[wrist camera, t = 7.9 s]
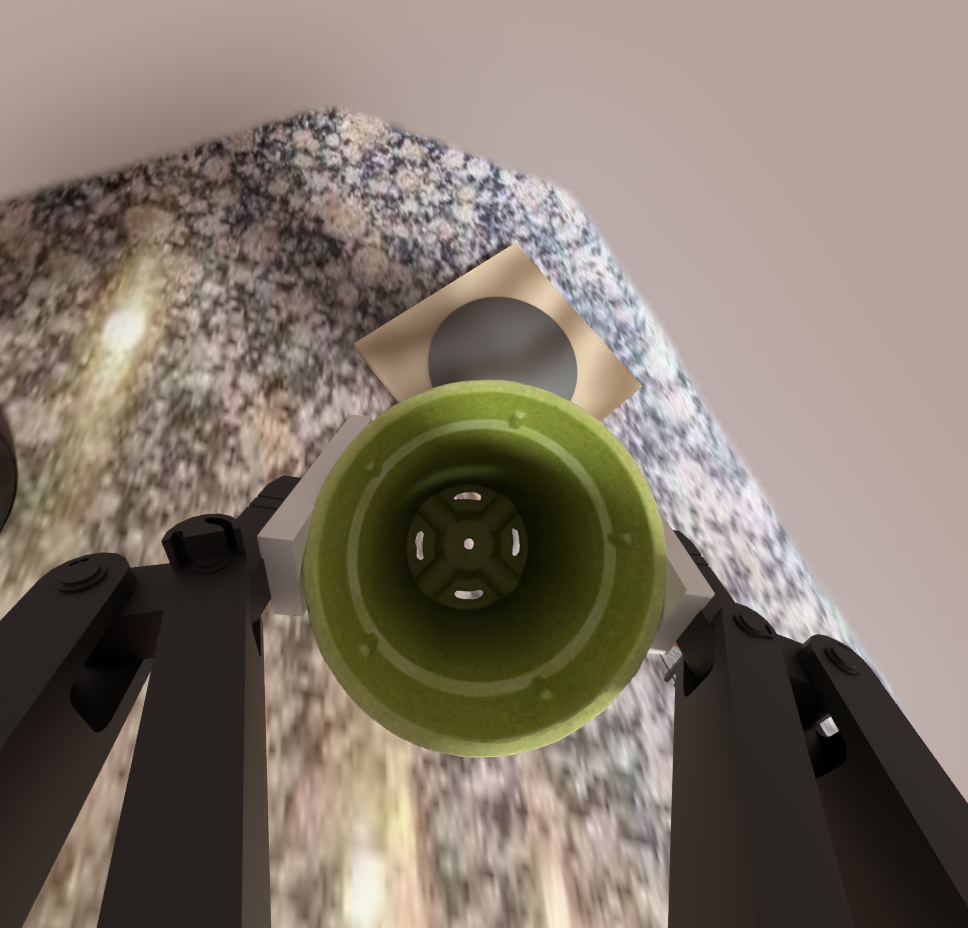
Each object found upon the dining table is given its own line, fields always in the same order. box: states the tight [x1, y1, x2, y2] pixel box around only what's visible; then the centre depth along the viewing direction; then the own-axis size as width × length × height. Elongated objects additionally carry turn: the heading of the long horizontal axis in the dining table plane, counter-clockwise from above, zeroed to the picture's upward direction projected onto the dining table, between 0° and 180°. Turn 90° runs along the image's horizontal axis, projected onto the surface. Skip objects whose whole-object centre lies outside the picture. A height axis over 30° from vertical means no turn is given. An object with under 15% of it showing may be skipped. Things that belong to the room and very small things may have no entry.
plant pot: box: [303, 380, 667, 758], centre depth 13 cm, size 9×9×9 cm
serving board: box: [354, 243, 642, 500], centre depth 31 cm, size 18×18×2 cm
